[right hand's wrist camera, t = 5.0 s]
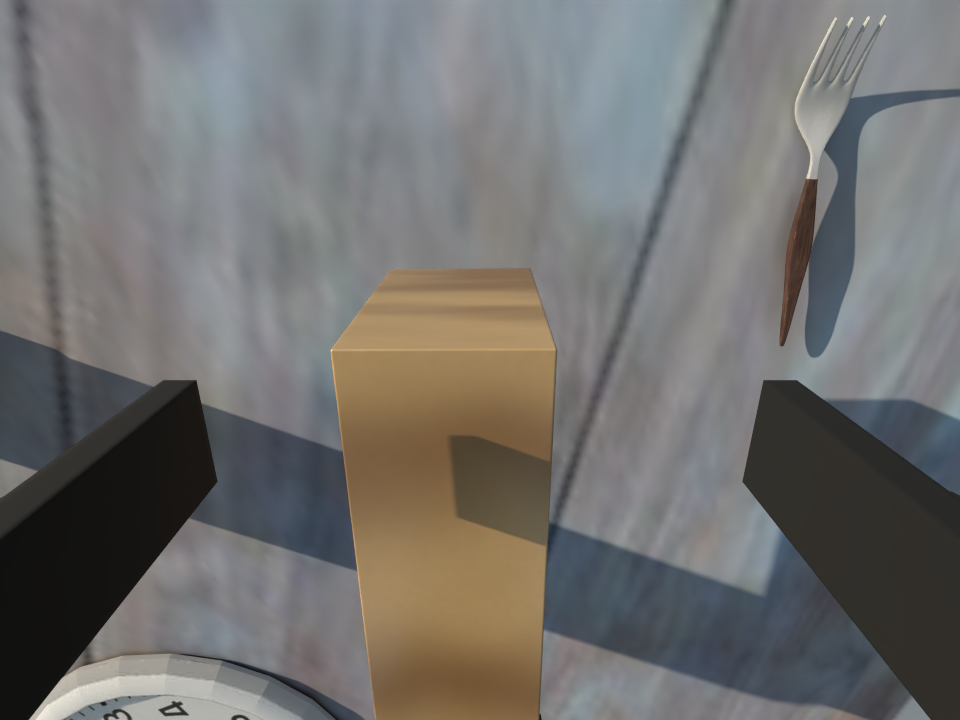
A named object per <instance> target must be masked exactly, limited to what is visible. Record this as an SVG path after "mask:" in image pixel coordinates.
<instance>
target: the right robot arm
mask: <svg viewBox="0 0 960 720" xmlns="http://www.w3.org/2000/svg"><path fill="white" fill-rule="evenodd" d="M216 483H217V477H216V472H215V468H214V463H213V458H212V453H211V448H210V443H209V439H208V434H207V429H206V424H205V419H204V415H203V410H202V405H201V400H200V395H199V391H198V386H197V381H196V380H163V381H162V382H160V383H159V384H158V385H156V386H155V387H153V388H152V389H151V390H149V391H148V392H147V393H145V394H144V395H142V396H141V397H140V398H138V399H137V400H136V401H134V402H133V403H131V404H130V405H129V406H127V407H126V408H125V409H123V410H122V411H120V412H119V413H118V414H116V415H115V416H114V417H112V418H111V419H110V420H108V421H107V422H105V423H104V424H103V425H101V426H100V427H99V428H97V429H96V430H94V431H93V432H92V433H90V434H89V435H88V436H86V437H85V438H83V439H82V440H81V441H79V442H78V443H77V444H75V445H74V446H72V447H71V448H70V449H68V450H67V451H66V452H64V453H63V454H61V455H60V456H59V457H57V458H56V459H55V460H53V461H52V462H50V463H49V464H48V465H46V466H45V467H44V468H42V469H41V470H39V471H38V472H37V473H35V474H34V475H33V476H31V477H30V478H29V479H27V480H26V481H24V482H23V483H22V484H20V485H19V486H18V487H16V488H15V489H13V490H12V491H11V492H9V493H8V494H7V495H5V496H4V497H2V498H0V720H29V719H30V718H31V717H32V715H33V714H34V713H35V712H36V710H37V709H38V708H39V707H40V705H41V704H42V703H43V702H44V700H45V699H46V698H47V696H48V695H49V694H50V693H51V691H52V690H53V689H54V688H55V686H56V685H57V684H58V683H59V681H60V680H61V679H62V677H63V676H64V675H65V674H66V672H67V671H68V670H69V669H70V667H71V666H72V665H73V664H74V662H75V661H76V660H77V659H78V657H79V656H80V655H81V653H82V652H83V651H84V650H85V648H86V647H87V646H88V645H89V643H90V642H91V641H92V640H93V638H94V637H95V636H96V634H97V633H98V632H99V631H100V629H101V628H102V627H103V626H104V624H105V623H106V622H107V621H108V619H109V618H110V617H111V616H112V614H113V613H114V612H115V610H116V609H117V608H118V607H119V605H120V604H121V603H122V602H123V600H124V599H125V598H126V597H127V595H128V594H129V593H130V592H131V590H132V589H133V588H134V586H135V585H136V584H137V583H138V581H139V580H140V579H141V578H142V576H143V575H144V574H145V573H146V571H147V570H148V569H149V567H150V566H151V565H152V564H153V562H154V561H155V560H156V559H157V557H158V556H159V555H160V554H161V552H162V551H163V550H164V549H165V547H166V546H167V545H168V543H169V542H170V541H171V540H172V538H173V537H174V536H175V535H176V533H177V532H178V531H179V530H180V528H181V527H182V526H183V525H184V523H185V522H186V521H187V519H188V518H189V517H190V516H191V514H192V513H193V512H194V511H195V509H196V508H197V507H198V506H199V504H200V503H201V502H202V500H203V499H204V498H205V497H206V495H207V494H208V493H209V492H210V490H211V489H212V488H213V487H214V485H215V484H216ZM743 483H744V484H745V485H746V487H747V488H748V489H749V490H750V492H751V493H752V494H753V495H754V497H755V498H756V499H757V500H758V502H759V503H760V504H761V506H762V507H763V508H764V509H765V511H766V512H767V513H768V514H769V516H770V517H771V518H772V519H773V521H774V522H775V523H776V525H777V526H778V527H779V528H780V530H781V531H782V532H783V533H784V535H785V536H786V537H787V538H788V540H789V541H790V542H791V543H792V545H793V546H794V547H795V549H796V550H797V551H798V552H799V554H800V555H801V556H802V557H803V559H804V560H805V561H806V562H807V564H808V565H809V566H810V567H811V569H812V570H813V571H814V573H815V574H816V575H817V576H818V578H819V579H820V580H821V581H822V583H823V584H824V585H825V586H826V588H827V589H828V590H829V592H830V593H831V594H832V595H833V597H834V598H835V599H836V600H837V602H838V603H839V604H840V605H841V607H842V608H843V609H844V610H845V612H846V613H847V614H848V616H849V617H850V618H851V619H852V621H853V622H854V623H855V624H856V626H857V627H858V628H859V629H860V631H861V632H862V633H863V635H864V636H865V637H866V638H867V640H868V641H869V642H870V643H871V645H872V646H873V647H874V648H875V650H876V651H877V652H878V653H879V655H880V656H881V657H882V659H883V660H884V661H885V662H886V664H887V665H888V666H889V667H890V669H891V670H892V671H893V672H894V674H895V675H896V676H897V677H898V679H899V680H900V681H901V683H902V684H903V685H904V686H905V688H906V689H907V690H908V691H909V693H910V694H911V695H912V696H913V698H914V699H915V700H916V701H917V703H918V704H919V705H920V707H921V708H922V709H923V710H924V712H925V713H926V714H927V715H928V717H929V718H930V719H931V720H960V496H959V495H957V494H955V493H953V492H949V491H948V490H947V489H945V488H944V487H942V486H941V485H940V484H938V483H937V482H936V481H934V480H933V479H931V478H930V477H929V476H927V475H926V474H925V473H923V472H922V471H921V470H919V469H918V468H916V467H915V466H914V465H912V464H911V463H910V462H908V461H907V460H905V459H904V458H903V457H901V456H900V455H899V454H897V453H896V452H894V451H893V450H892V449H890V448H889V447H888V446H886V445H885V444H883V443H882V442H881V441H879V440H878V439H877V438H875V437H874V436H872V435H871V434H870V433H868V432H867V431H866V430H864V429H863V428H861V427H860V426H859V425H857V424H856V423H855V422H853V421H852V420H850V419H849V418H848V417H846V416H845V415H844V414H842V413H841V412H839V411H838V410H837V409H835V408H834V407H833V406H831V405H830V404H829V403H827V402H826V401H824V400H823V399H822V398H820V397H819V396H818V395H816V394H815V393H813V392H812V391H811V390H809V389H808V388H807V387H805V386H804V385H802V384H801V383H800V382H798V381H797V380H764V381H763V386H762V391H761V395H760V400H759V405H758V410H757V415H756V419H755V424H754V429H753V434H752V439H751V443H750V448H749V453H748V458H747V463H746V468H745V472H744V477H743Z"/></svg>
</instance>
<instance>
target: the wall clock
mask: <svg viewBox="0 0 960 720" xmlns="http://www.w3.org/2000/svg"><path fill="white" fill-rule="evenodd" d="M29 720H336V719H334V718H333V717H332V716H331V715H330V714H329V713H328V712H326V711H325V710H324V709H323V708H322V707H321V706H320V705H318V704H317V703H316V702H315V701H314V700H313V699H311V698H309V697H307V696H305V695H304V694H302V693H300V692H298V691H296V690H294V689H293V688H291V687H289V686H287V685H285V684H284V683H282V682H280V681H278V680H276V679H274V678H273V677H270V676H267V675H264V674H261V673H258V672H255V671H252V670H249V669H246V668H243V667H240V666H237V665H234V664H231V663H228V662H225V661H220V660H213V659H206V658H199V657H192V656H185V655H178V654H151V655H128V656H120V657H116V658H112V659H109V660H105V661H101V662H97V663H94V664H90V665H86V666H83V667H80V668H78V669H76V670H75V671H73V672H71V673H70V674H68V675H66V676H65V677H63V678H62V679H61V680H60V681H59V683H58V684H57V685H56V686H55V688H54V689H53V690H52V691H51V693H50V694H49V695H48V696H47V698H46V699H45V700H44V702H43V703H42V704H41V705H40V707H39V708H38V709H37V710H36V712H35V713H34V714H33V715H32V717H31V718H30V719H29Z"/></svg>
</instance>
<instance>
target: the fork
mask: <svg viewBox="0 0 960 720" xmlns="http://www.w3.org/2000/svg"><path fill="white" fill-rule="evenodd" d="M886 18H887V16H886V15H885V16H884V17H883V18H882V20H881V22H880V23H879V25H878V27H877V29H876V30H875V32H874V34H873V36H872V37H871V39H870V41H869V43H868V44H867V46H866V48H865V50H864V51H863V53H862V55H861V57H860V59H859V61H858V63H857V64H856V66H855V68H854V70H853V72H852V74H851V75H850V77H849V78H848V80H846V81H844V75H845V73H846V70H847V67H848V65H849V63H850V61H851V58H852V56H853V54H854V51H855V49H856V47H857V45H858V42H859V40H860V38H861V36H862V34H863V32H864V30H865V27H866V25H867V23H868V21H869V19H870V17H869V16H868V17H867V19H866V20H865V22H864V24H863V25H862V27H861V29H860V31H859V33H858V34H857V36H856V38H855V40H854V42H853V44H852V45H851V47H850V49H849V51H848V53H847V55H846V57H845V59H844V61H843V62H842V64H841V66H840V68H839V70H838V72H837V74H836V76H835V77H834V79H833V80H832V81H831V82H829V75H830V73H831V70H832V67H833V65H834V62H835V60H836V58H837V55H838V53H839V50H840V48H841V46H842V43H843V41H844V39H845V37H846V34H847V32H848V30H849V28H850V25H851V23H852V21H853V17H851V19H850V20H849V22H848V24H847V26H846V28H845V30H844V31H843V33H842V35H841V37H840V39H839V41H838V43H837V45H836V47H835V49H834V50H833V52H832V54H831V56H830V58H829V60H828V62H827V64H826V66H825V68H824V70H823V72H822V74H821V76H820V78H819V79H818V81H817V82H814V81H813V80H814V75H815V73H816V70H817V67H818V65H819V62H820V59H821V57H822V54H823V52H824V49H825V47H826V45H827V42H828V40H829V37H830V35H831V32H832V30H833V28H834V26H835V24H836V22H837V18H834V20H833V22H832V24H831V26H830V28H829V30H828V32H827V34H826V36H825V38H824V40H823V42H822V44H821V46H820V48H819V50H818V52H817V54H816V56H815V58H814V60H813V62H812V64H811V67H810V69H809V71H808V73H807V75H806V78H805V80H804V82H803V84H802V87H801V89H800V91H799V94H798V96H797V99H796V103H795V119H796V123H797V126H798V128H799V130H800V132H801V134H802V136H803V138H804V140H805V142H806V144H807V146H808V149H809V152H810V166H809V171H808V174H807V178H806V181H805V185H804V188H803V192H802V195H801V198H800V201H799V205H798V208H797V211H796V215H795V218H794V222H793V225H792V229H791V233H790V237H789V241H788V247H787V254H786V265H785V282H784V296H783V307H782V316H781V327H780V346H784V343H785V341H786V338H787V335H788V331H789V328H790V325H791V321H792V317H793V314H794V310H795V306H796V303H797V299H798V296H799V292H800V289H801V285H802V282H803V279H804V275H805V272H806V269H807V265H808V261H809V257H810V253H811V248H812V242H813V234H814V222H815V209H816V194H817V180H818V170H819V163H820V158H821V155H822V153H823V150H824V148H825V146H826V144H827V143H828V141H829V139H830V137H831V136H832V134H833V133H834V131H835V129H836V128H837V126H838V124H839V123H840V121H841V119H842V117H843V115H844V113H845V111H846V109H847V107H848V104H849V102H850V99H851V97H852V94H853V91H854V88H855V85H856V82H857V80H858V77H859V74H860V72H861V70H862V67H863V65H864V63H865V61H866V59H867V57H868V54H869V52H870V50H871V48H872V46H873V44H874V42H875V40H876V37H877V35H878V33H879V31H880V29H881V27H882V25H883V23H884V22H885V20H886Z"/></svg>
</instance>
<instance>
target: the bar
mask: <svg viewBox="0 0 960 720" xmlns="http://www.w3.org/2000/svg"><path fill="white" fill-rule="evenodd" d="M331 358H332V366H333V374H334V383H335V391H336V399H337V407H338V416H339V424H340V432H341V440H342V448H343V457H344V465H345V473H346V481H347V489H348V498H349V506H350V514H351V522H352V530H353V539H354V547H355V555H356V563H357V572H358V580H359V588H360V596H361V604H362V613H363V621H364V629H365V637H366V645H367V654H368V662H369V670H370V678H371V686H372V695H373V703H374V711H375V719H376V720H539V713H540V693H541V672H542V652H543V631H544V611H545V590H546V570H547V549H548V529H549V508H550V488H551V468H552V447H553V427H554V406H555V386H556V365H557V348H556V345H555V342H554V339H553V336H552V333H551V330H550V327H549V324H548V321H547V318H546V314H545V311H544V308H543V305H542V302H541V299H540V296H539V293H538V290H537V287H536V284H535V281H534V278H533V275H532V272H531V269H530V268H524V269H391V270H390V271H389V273H388V274H387V275H386V277H385V278H384V279H383V281H382V282H381V283H380V285H379V286H378V287H377V289H376V290H375V291H374V293H373V294H372V295H371V297H370V298H369V299H368V301H367V302H366V303H365V305H364V306H363V307H362V309H361V310H360V311H359V313H358V314H357V315H356V317H355V318H354V319H353V321H352V322H351V323H350V325H349V326H348V327H347V329H346V330H345V331H344V333H343V334H342V336H341V337H340V338H339V340H338V341H337V342H336V344H335V345H334V346H333V348H332V349H331Z"/></svg>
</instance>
